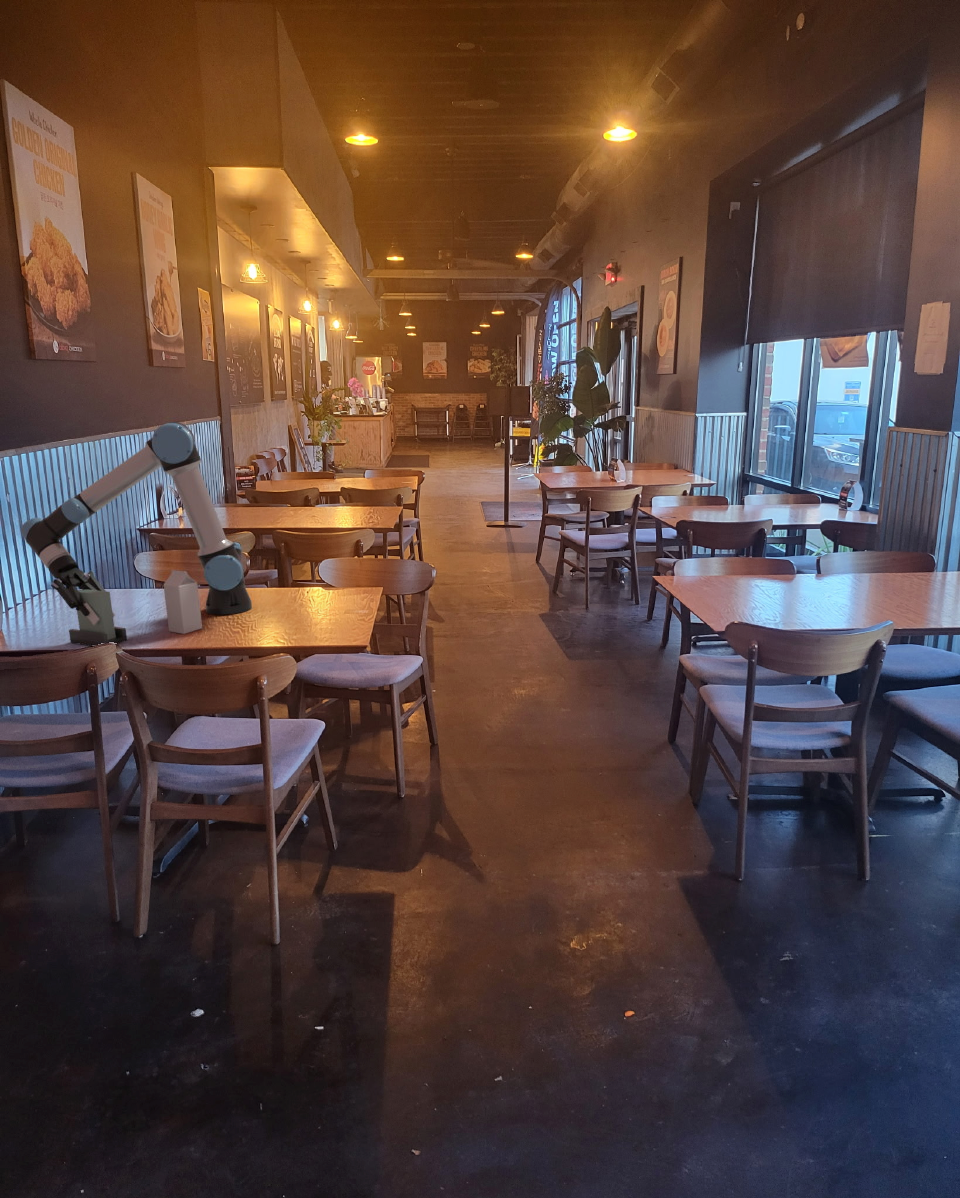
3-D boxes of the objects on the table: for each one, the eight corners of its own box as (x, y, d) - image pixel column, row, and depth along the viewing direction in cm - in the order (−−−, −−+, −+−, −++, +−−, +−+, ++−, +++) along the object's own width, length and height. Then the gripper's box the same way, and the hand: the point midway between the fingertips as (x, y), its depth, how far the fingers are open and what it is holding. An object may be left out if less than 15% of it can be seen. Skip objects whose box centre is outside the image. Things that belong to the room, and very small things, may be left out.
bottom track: (127, 640, 255) (125, 628, 254) (105, 648, 249) (103, 635, 248) (93, 635, 262) (91, 623, 261) (70, 642, 255) (68, 629, 254)
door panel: (115, 637, 254) (109, 591, 251) (106, 640, 251) (99, 594, 248) (90, 633, 259) (84, 589, 256) (80, 636, 256) (74, 591, 253)
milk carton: (184, 634, 261) (177, 574, 256) (168, 631, 264) (161, 572, 260) (202, 628, 266) (196, 569, 262) (187, 626, 270) (180, 567, 266)
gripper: (79, 564, 265) (123, 620, 261) (28, 576, 250) (73, 635, 246) (89, 548, 261) (133, 605, 258) (37, 559, 246) (83, 619, 242)
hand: (104, 620), depth 252 cm, fingers open, 5 cm apart
